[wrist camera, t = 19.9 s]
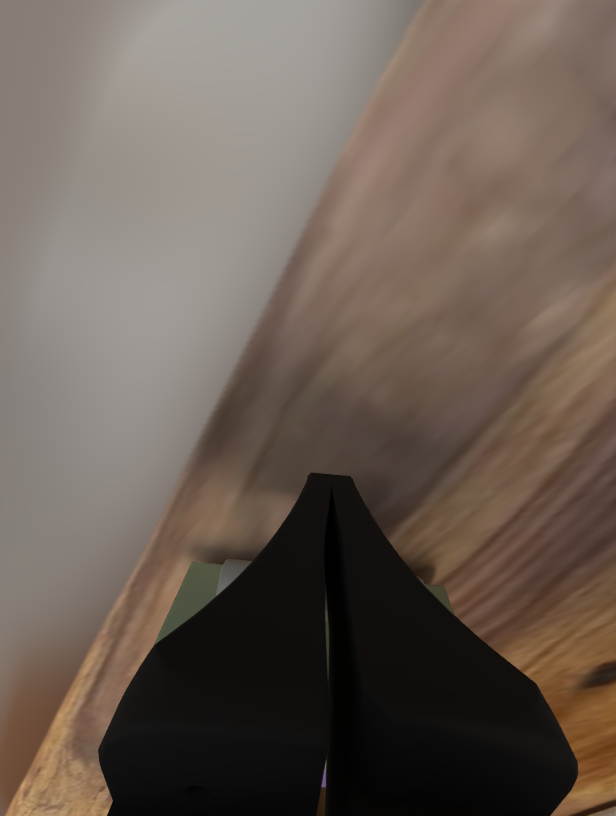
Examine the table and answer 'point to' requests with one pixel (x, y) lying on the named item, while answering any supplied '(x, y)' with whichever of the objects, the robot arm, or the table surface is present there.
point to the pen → (606, 812)
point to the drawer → (213, 579)
